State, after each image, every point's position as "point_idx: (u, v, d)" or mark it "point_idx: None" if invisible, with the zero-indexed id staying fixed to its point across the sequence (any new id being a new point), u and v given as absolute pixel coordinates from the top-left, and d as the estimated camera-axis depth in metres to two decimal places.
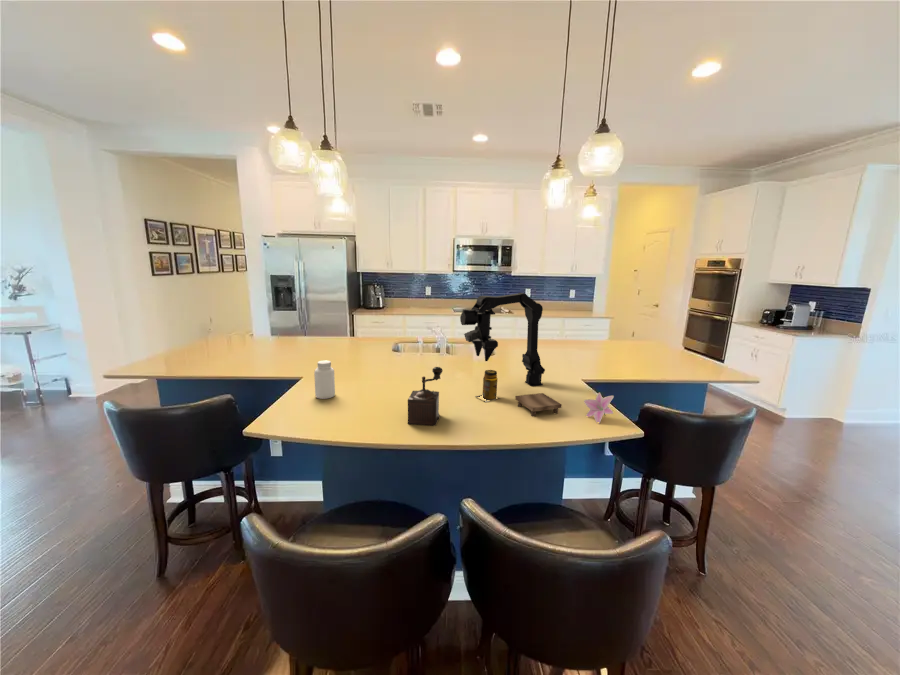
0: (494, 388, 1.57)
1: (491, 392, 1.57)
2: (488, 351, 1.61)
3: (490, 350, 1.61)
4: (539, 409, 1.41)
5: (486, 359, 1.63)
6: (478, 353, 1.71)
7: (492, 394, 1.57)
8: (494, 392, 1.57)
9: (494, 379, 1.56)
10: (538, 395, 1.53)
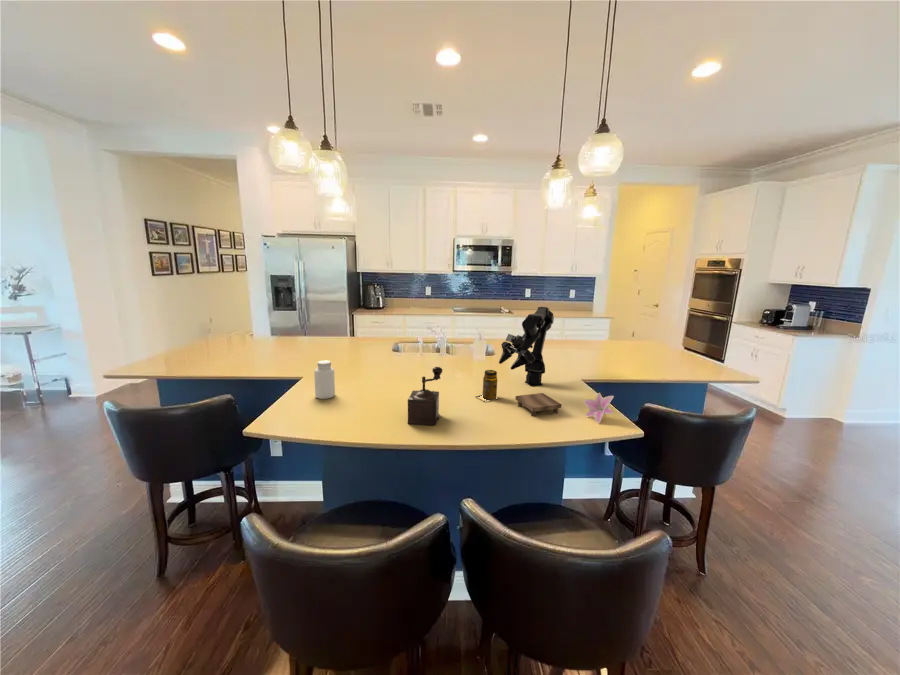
0: (494, 388, 1.57)
1: (491, 392, 1.57)
2: (520, 361, 1.56)
3: (522, 362, 1.56)
4: (539, 409, 1.41)
5: (512, 367, 1.56)
6: (501, 361, 1.65)
7: (492, 394, 1.57)
8: (494, 392, 1.57)
9: (494, 379, 1.56)
10: (538, 395, 1.53)
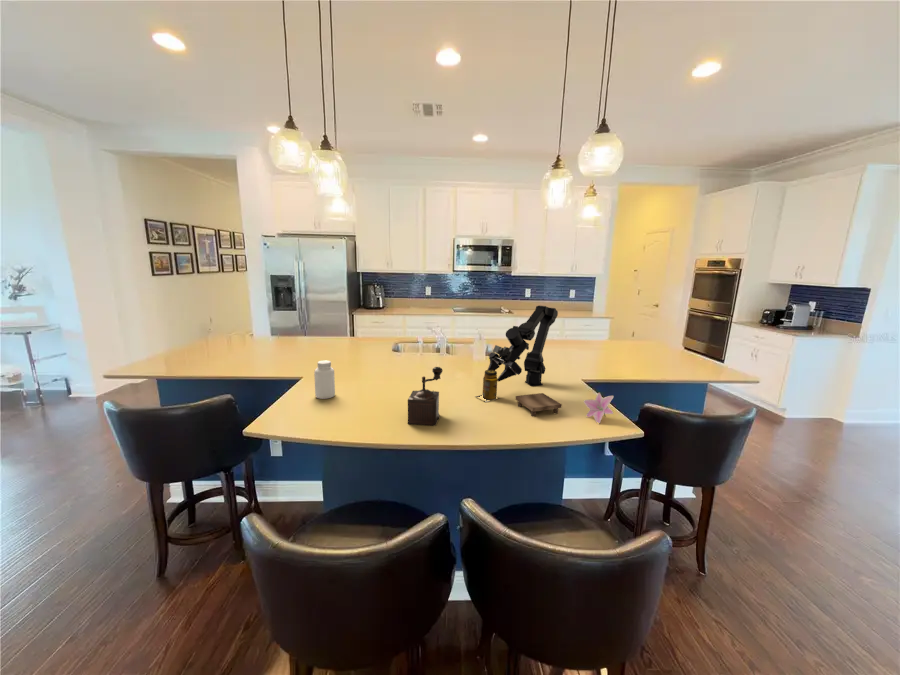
0: (494, 388, 1.57)
1: (491, 392, 1.57)
2: (506, 373, 1.54)
3: (508, 374, 1.55)
4: (539, 409, 1.41)
5: (499, 379, 1.54)
6: None
7: (492, 394, 1.57)
8: (494, 392, 1.57)
9: (494, 379, 1.56)
10: (538, 395, 1.53)
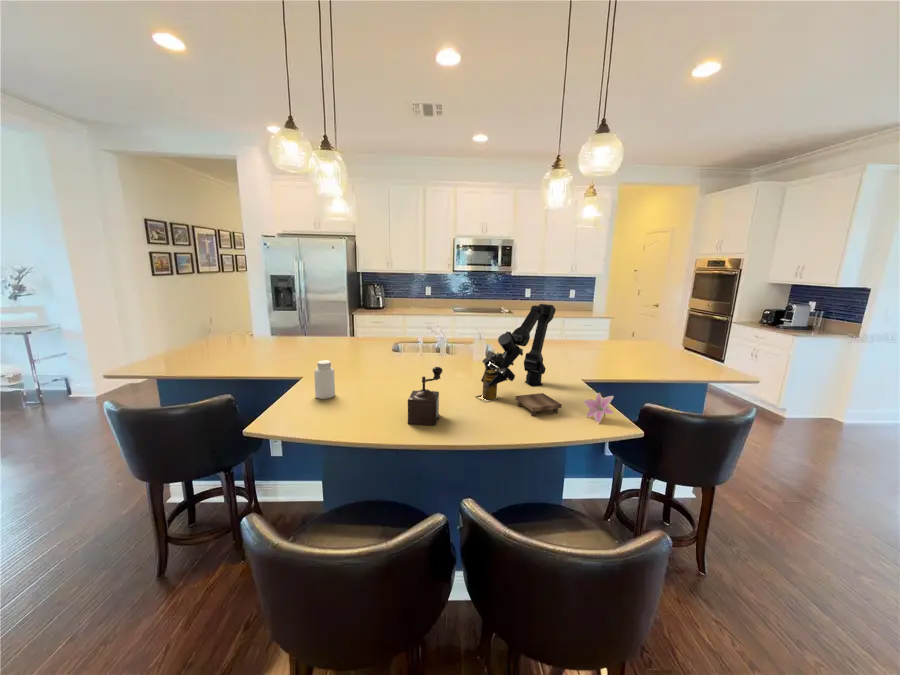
0: (494, 388, 1.57)
1: (491, 392, 1.57)
2: (498, 378, 1.55)
3: (500, 379, 1.55)
4: (539, 409, 1.41)
5: (490, 384, 1.55)
6: None
7: (492, 394, 1.57)
8: (494, 391, 1.57)
9: None
10: (538, 395, 1.53)
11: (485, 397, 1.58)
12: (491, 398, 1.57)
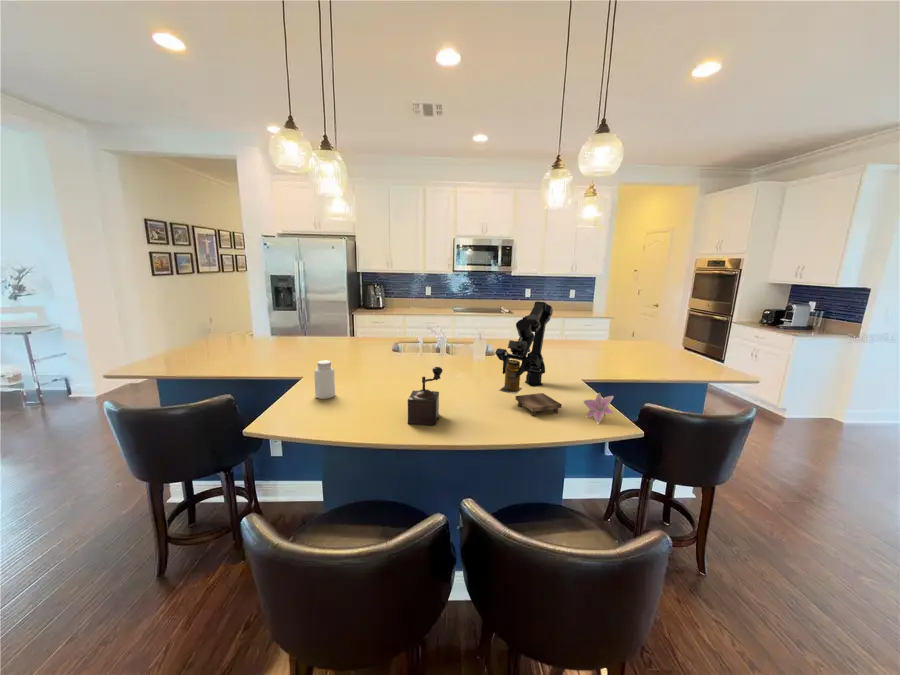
0: (519, 378, 1.50)
1: (517, 383, 1.49)
2: (523, 367, 1.49)
3: (525, 368, 1.49)
4: (539, 409, 1.41)
5: (518, 375, 1.47)
6: (504, 371, 1.52)
7: (518, 384, 1.50)
8: (519, 382, 1.50)
9: None
10: (538, 395, 1.53)
11: (511, 389, 1.49)
12: (517, 389, 1.50)
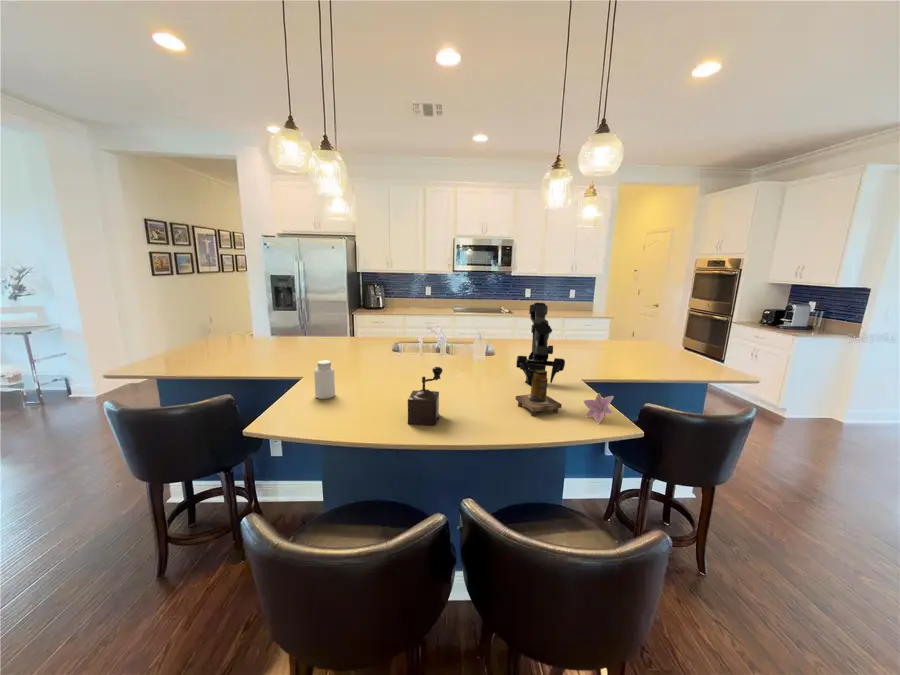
0: None
1: (546, 392, 1.47)
2: None
3: (554, 372, 1.48)
4: (539, 409, 1.41)
5: (552, 380, 1.45)
6: (529, 378, 1.47)
7: (546, 393, 1.48)
8: None
9: (546, 377, 1.47)
10: None
11: (541, 399, 1.46)
12: (545, 398, 1.48)
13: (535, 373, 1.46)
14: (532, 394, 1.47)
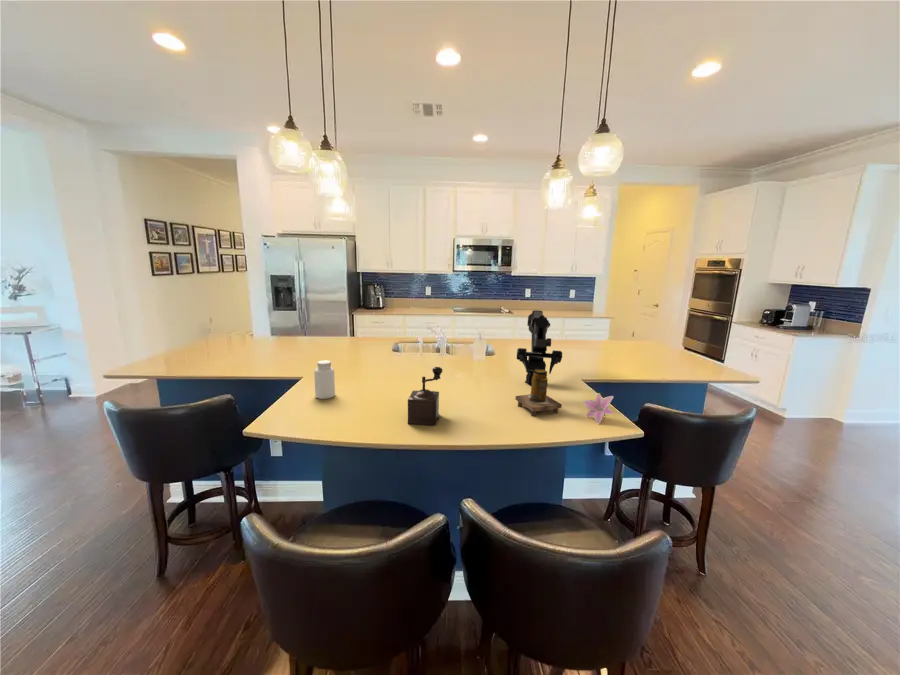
0: None
1: (546, 392, 1.47)
2: None
3: None
4: (539, 409, 1.41)
5: None
6: (527, 369, 1.56)
7: (546, 393, 1.48)
8: None
9: (546, 377, 1.47)
10: None
11: (541, 399, 1.46)
12: (545, 398, 1.48)
13: (535, 373, 1.46)
14: (532, 394, 1.47)
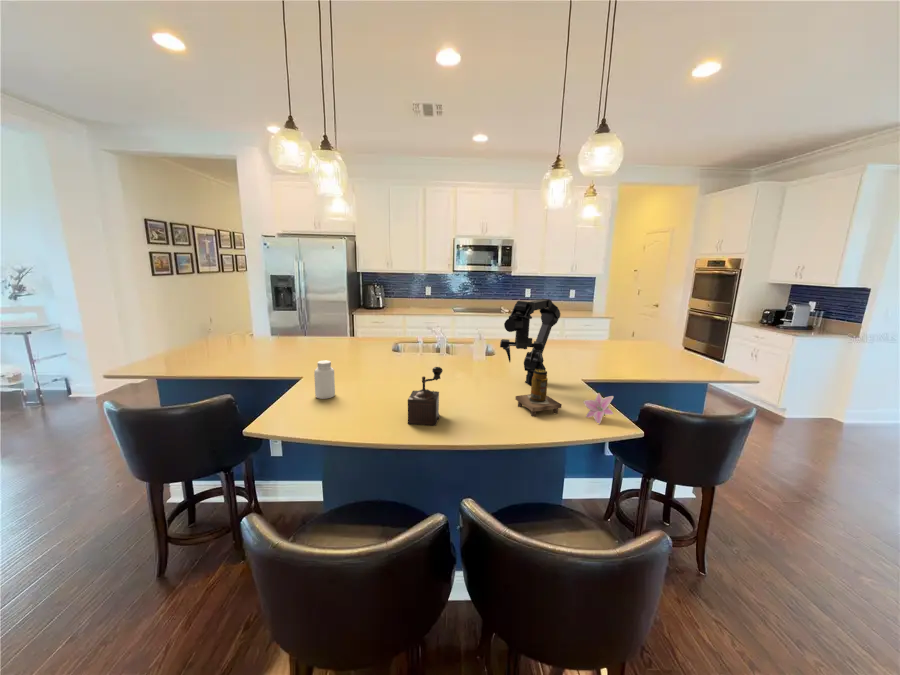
0: None
1: (546, 392, 1.47)
2: None
3: None
4: (539, 409, 1.41)
5: (531, 362, 1.67)
6: (510, 359, 1.69)
7: (546, 393, 1.48)
8: None
9: (546, 377, 1.47)
10: None
11: (541, 399, 1.46)
12: (545, 398, 1.48)
13: (535, 373, 1.46)
14: (532, 394, 1.47)
